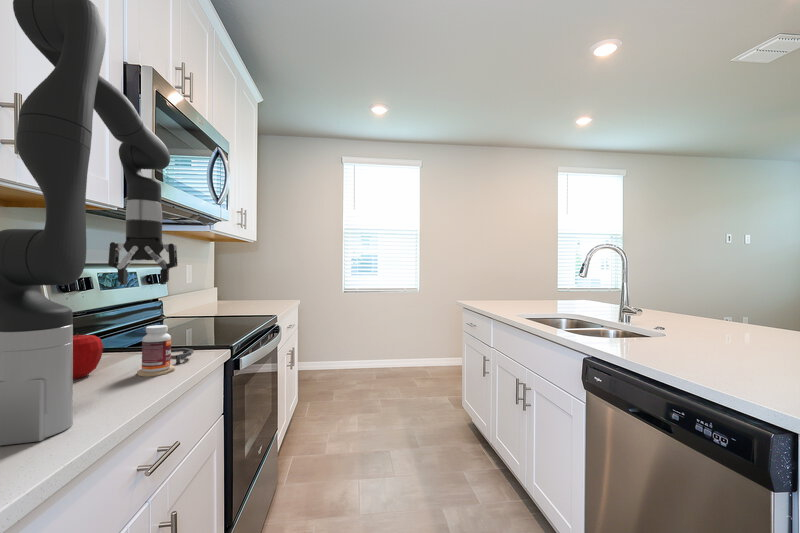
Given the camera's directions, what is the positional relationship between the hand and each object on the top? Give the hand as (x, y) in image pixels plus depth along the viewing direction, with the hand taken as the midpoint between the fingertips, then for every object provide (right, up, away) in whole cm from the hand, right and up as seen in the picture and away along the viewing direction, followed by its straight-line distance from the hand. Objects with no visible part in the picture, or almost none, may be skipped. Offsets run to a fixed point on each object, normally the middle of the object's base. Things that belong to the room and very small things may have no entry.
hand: (143, 284), depth 93 cm
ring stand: (0, -22, +13) cm, 26 cm away
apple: (-14, -23, -2) cm, 27 cm away
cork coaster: (+2, -22, +2) cm, 23 cm away
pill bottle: (+2, -22, +2) cm, 22 cm away
